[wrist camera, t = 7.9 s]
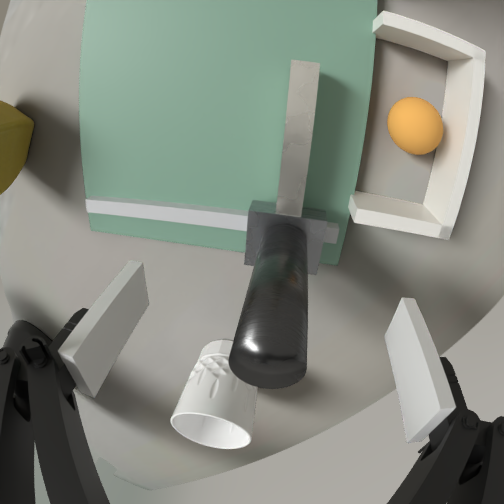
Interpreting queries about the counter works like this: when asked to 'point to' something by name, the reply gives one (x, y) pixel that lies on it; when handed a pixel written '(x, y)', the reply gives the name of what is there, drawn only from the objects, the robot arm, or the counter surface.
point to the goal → (453, 139)
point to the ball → (415, 125)
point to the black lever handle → (282, 255)
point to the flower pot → (13, 143)
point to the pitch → (217, 113)
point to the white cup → (216, 402)
